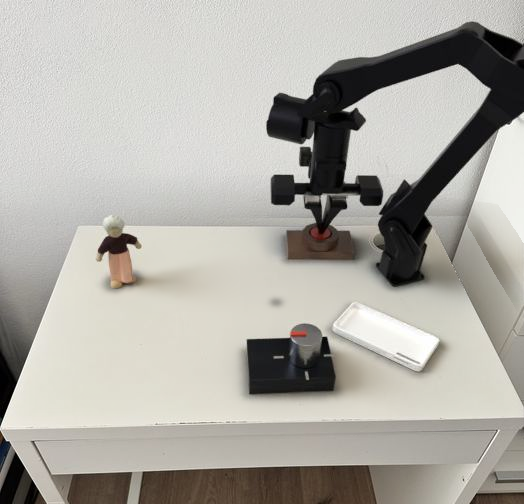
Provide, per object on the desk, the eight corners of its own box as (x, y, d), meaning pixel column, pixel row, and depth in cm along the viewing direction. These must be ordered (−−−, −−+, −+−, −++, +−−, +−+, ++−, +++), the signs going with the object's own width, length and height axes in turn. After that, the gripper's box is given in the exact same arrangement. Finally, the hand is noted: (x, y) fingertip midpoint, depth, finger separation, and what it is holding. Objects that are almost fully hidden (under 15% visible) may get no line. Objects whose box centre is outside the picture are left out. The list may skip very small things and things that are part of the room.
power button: (328, 234, 100) (329, 226, 98) (330, 246, 97) (331, 238, 96) (309, 234, 100) (310, 226, 98) (310, 246, 97) (311, 237, 96)
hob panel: (326, 348, 82) (329, 334, 80) (335, 392, 76) (338, 377, 74) (246, 351, 81) (246, 336, 79) (249, 395, 75) (249, 381, 73)
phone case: (438, 344, 83) (353, 306, 89) (441, 338, 82) (354, 300, 88) (419, 373, 79) (330, 331, 84) (421, 367, 78) (331, 325, 83)
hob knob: (316, 345, 78) (320, 321, 75) (321, 367, 75) (324, 343, 72) (286, 346, 78) (288, 322, 74) (290, 368, 75) (292, 344, 71)
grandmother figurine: (111, 295, 89) (96, 230, 80) (100, 284, 91) (83, 219, 82) (150, 276, 93) (140, 212, 84) (138, 266, 95) (127, 202, 86)
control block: (348, 238, 102) (351, 222, 100) (353, 260, 97) (356, 244, 95) (285, 237, 102) (286, 221, 99) (287, 259, 97) (288, 243, 95)
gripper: (379, 128, 92) (365, 209, 103) (271, 127, 91) (268, 208, 103) (391, 159, 84) (374, 242, 95) (272, 158, 84) (269, 241, 95)
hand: (320, 232), depth 97 cm, fingers closed, pressing on power button
